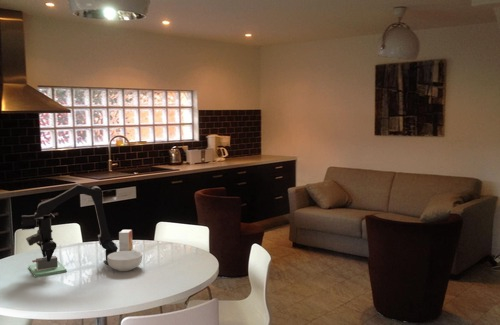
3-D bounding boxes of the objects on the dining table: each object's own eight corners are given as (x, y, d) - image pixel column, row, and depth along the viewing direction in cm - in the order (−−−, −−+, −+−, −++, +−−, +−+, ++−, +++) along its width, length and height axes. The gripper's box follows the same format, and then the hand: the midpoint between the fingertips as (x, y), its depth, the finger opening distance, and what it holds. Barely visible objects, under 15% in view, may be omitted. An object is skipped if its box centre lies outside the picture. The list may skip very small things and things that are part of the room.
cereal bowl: (133, 275, 233) (133, 260, 232) (101, 273, 236) (100, 258, 236) (148, 264, 250) (147, 250, 249) (117, 263, 253) (117, 249, 252)
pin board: (66, 271, 239) (66, 263, 239) (35, 277, 231) (35, 268, 231) (57, 262, 254) (57, 254, 254) (28, 267, 246) (28, 259, 246)
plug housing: (57, 266, 243) (57, 257, 243) (33, 270, 237) (33, 261, 237) (55, 264, 247) (55, 255, 246) (32, 268, 241) (31, 259, 240)
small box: (129, 251, 275) (128, 232, 274) (119, 251, 275) (118, 232, 274) (132, 247, 283) (132, 229, 282) (123, 247, 283) (122, 229, 282)
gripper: (23, 226, 244) (25, 257, 245) (30, 233, 229) (32, 266, 230) (47, 223, 250) (48, 254, 252) (56, 230, 235) (57, 262, 236)
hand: (46, 259), depth 242 cm, fingers open, 9 cm apart
